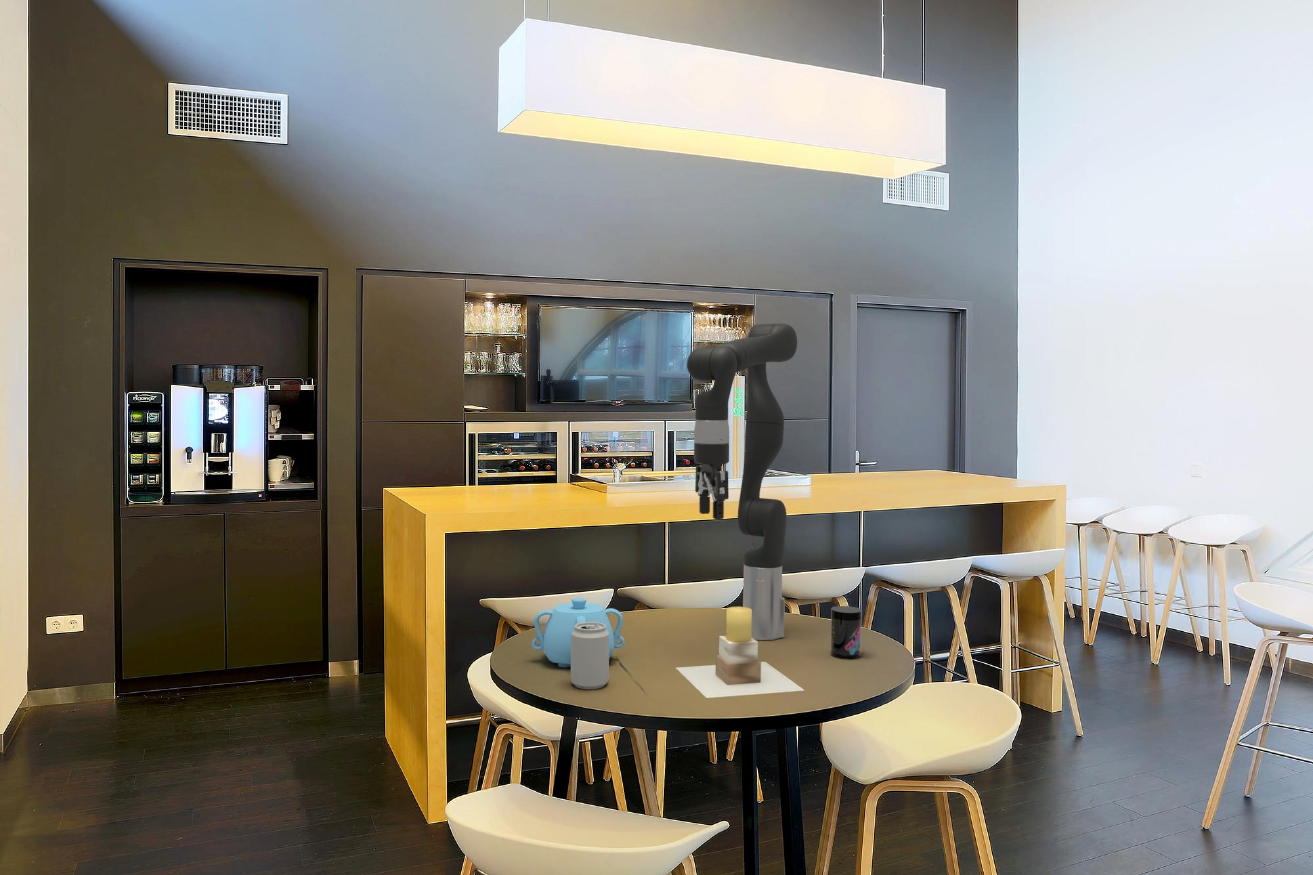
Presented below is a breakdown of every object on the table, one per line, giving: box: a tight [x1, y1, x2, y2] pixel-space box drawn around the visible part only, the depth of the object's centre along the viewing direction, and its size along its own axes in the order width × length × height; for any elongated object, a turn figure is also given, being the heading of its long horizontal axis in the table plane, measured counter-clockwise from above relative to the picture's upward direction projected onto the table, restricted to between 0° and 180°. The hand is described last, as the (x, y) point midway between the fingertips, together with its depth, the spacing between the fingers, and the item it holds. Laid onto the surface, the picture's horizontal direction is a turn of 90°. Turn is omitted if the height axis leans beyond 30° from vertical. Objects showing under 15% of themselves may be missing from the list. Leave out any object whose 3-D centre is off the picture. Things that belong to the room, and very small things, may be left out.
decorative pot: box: [531, 597, 626, 668], centre depth 200 cm, size 16×16×14 cm
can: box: [570, 622, 610, 690], centre depth 184 cm, size 8×8×12 cm
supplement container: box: [829, 605, 863, 660], centre depth 208 cm, size 7×7×10 cm
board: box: [675, 661, 806, 699], centre depth 186 cm, size 20×20×1 cm
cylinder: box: [725, 606, 752, 643], centre depth 185 cm, size 5×5×6 cm
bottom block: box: [715, 654, 762, 685], centre depth 186 cm, size 7×7×4 cm
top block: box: [718, 635, 759, 664], centre depth 186 cm, size 6×6×4 cm
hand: (711, 516), depth 200 cm, fingers open, 8 cm apart
